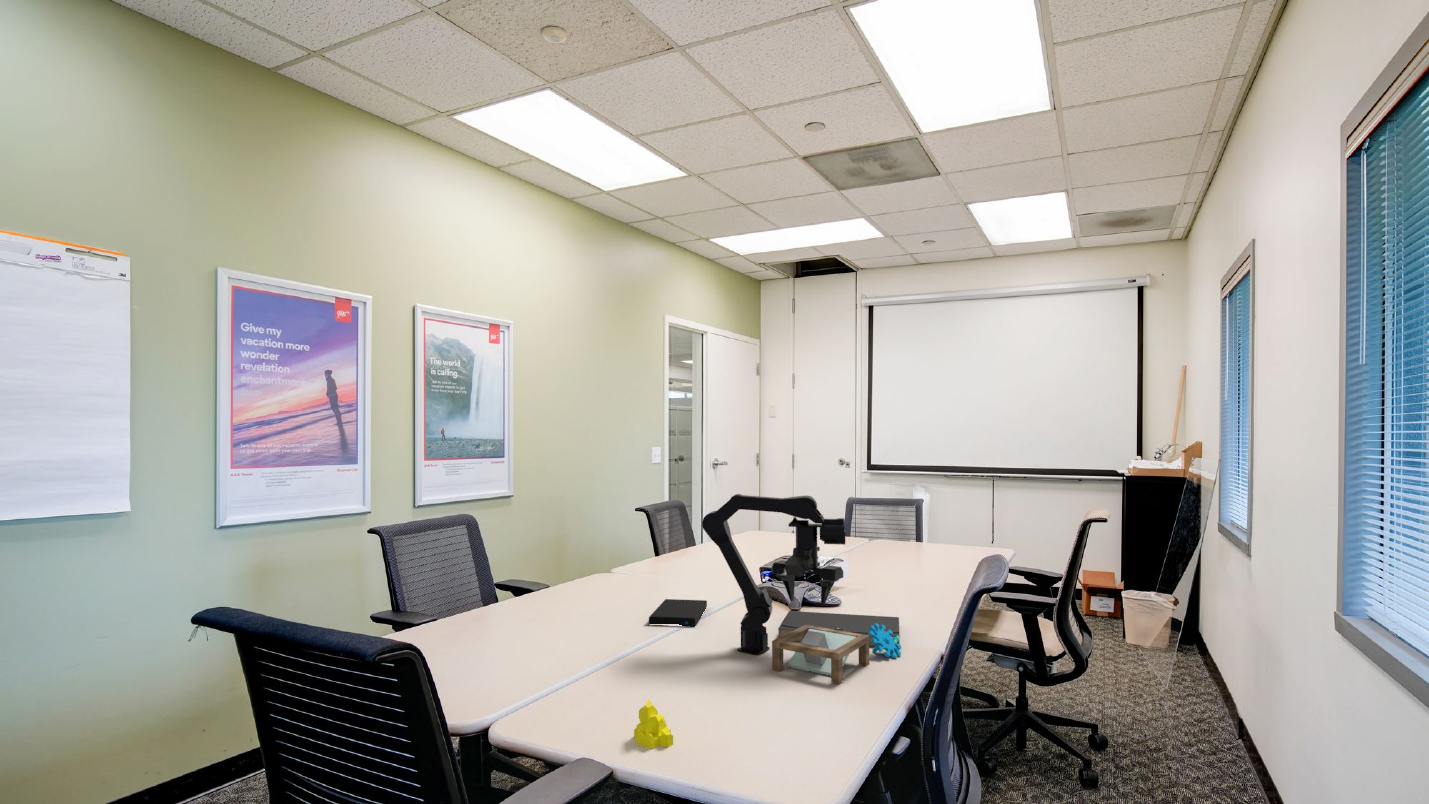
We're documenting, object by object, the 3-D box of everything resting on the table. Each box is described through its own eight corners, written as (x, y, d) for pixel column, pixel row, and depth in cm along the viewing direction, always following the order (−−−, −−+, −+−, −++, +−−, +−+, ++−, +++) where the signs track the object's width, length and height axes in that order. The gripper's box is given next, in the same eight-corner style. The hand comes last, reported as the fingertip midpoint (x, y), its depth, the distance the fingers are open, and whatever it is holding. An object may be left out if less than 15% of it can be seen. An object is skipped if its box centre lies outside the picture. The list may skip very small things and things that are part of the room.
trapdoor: (810, 631, 183) (809, 628, 183) (856, 639, 176) (855, 636, 176) (789, 667, 174) (788, 664, 173) (837, 677, 166) (836, 674, 166)
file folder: (777, 627, 197) (790, 608, 220) (778, 642, 196) (790, 621, 220) (899, 635, 189) (898, 614, 212) (899, 650, 188) (899, 628, 212)
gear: (885, 656, 177) (865, 622, 183) (870, 669, 179) (851, 635, 186) (912, 654, 183) (892, 621, 190) (898, 667, 186) (878, 633, 192)
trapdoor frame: (772, 669, 172) (772, 640, 172) (806, 651, 186) (805, 624, 187) (839, 684, 162) (838, 653, 162) (869, 663, 176) (869, 635, 176)
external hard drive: (706, 609, 233) (706, 600, 233) (695, 628, 210) (695, 618, 211) (664, 608, 235) (664, 599, 235) (648, 626, 212) (648, 616, 213)
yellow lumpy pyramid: (661, 752, 127) (661, 709, 128) (626, 742, 132) (627, 700, 132) (679, 740, 132) (679, 698, 133) (646, 731, 137) (646, 690, 137)
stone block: (806, 662, 172) (800, 643, 170) (813, 649, 176) (808, 630, 174) (822, 665, 170) (817, 646, 168) (829, 652, 173) (824, 633, 171)
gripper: (760, 544, 185) (761, 604, 184) (825, 551, 174) (825, 614, 174) (781, 539, 194) (782, 596, 193) (843, 545, 184) (844, 605, 183)
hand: (807, 603), depth 186 cm, fingers open, 9 cm apart
